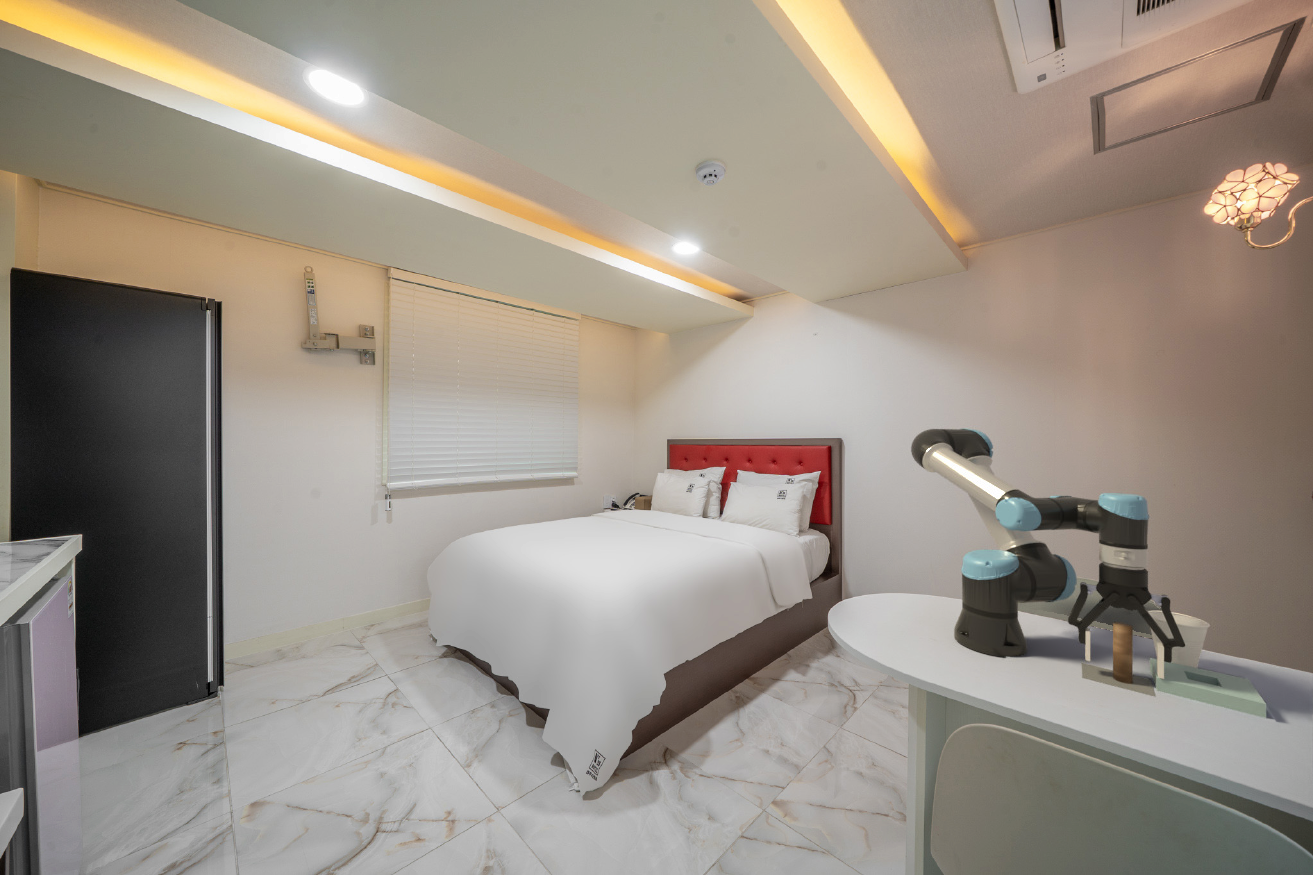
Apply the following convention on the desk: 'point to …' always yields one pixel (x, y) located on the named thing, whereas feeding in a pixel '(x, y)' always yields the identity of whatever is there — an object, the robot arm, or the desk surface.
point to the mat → (1107, 678)
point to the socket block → (1209, 687)
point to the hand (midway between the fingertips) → (1122, 666)
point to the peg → (1123, 652)
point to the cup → (1191, 634)
